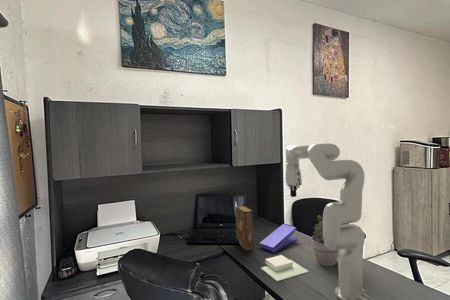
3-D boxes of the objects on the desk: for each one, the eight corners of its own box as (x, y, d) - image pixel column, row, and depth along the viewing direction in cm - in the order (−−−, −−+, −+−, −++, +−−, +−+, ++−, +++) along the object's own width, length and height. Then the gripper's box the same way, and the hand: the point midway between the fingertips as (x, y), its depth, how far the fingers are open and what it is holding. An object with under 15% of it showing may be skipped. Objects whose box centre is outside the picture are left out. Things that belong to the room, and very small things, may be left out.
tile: (281, 259, 149) (292, 267, 140) (265, 263, 144) (276, 271, 135) (281, 254, 149) (292, 262, 140) (265, 259, 144) (275, 266, 135)
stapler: (298, 240, 178) (297, 226, 178) (274, 253, 159) (273, 238, 158) (283, 236, 186) (283, 223, 186) (259, 248, 167) (259, 233, 167)
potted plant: (333, 275, 131) (332, 226, 130) (302, 261, 147) (301, 217, 146) (353, 265, 141) (352, 219, 140) (322, 252, 157) (321, 212, 156)
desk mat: (308, 272, 135) (308, 271, 135) (277, 281, 127) (277, 280, 127) (290, 260, 149) (290, 259, 149) (260, 268, 140) (260, 267, 140)
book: (254, 249, 165) (253, 210, 164) (246, 251, 163) (245, 212, 162) (243, 240, 180) (242, 205, 179) (236, 241, 178) (235, 206, 177)
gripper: (306, 167, 150) (306, 198, 151) (289, 165, 164) (290, 193, 164) (295, 167, 147) (296, 199, 148) (280, 165, 161) (280, 195, 161)
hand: (293, 196), depth 156 cm, fingers closed
